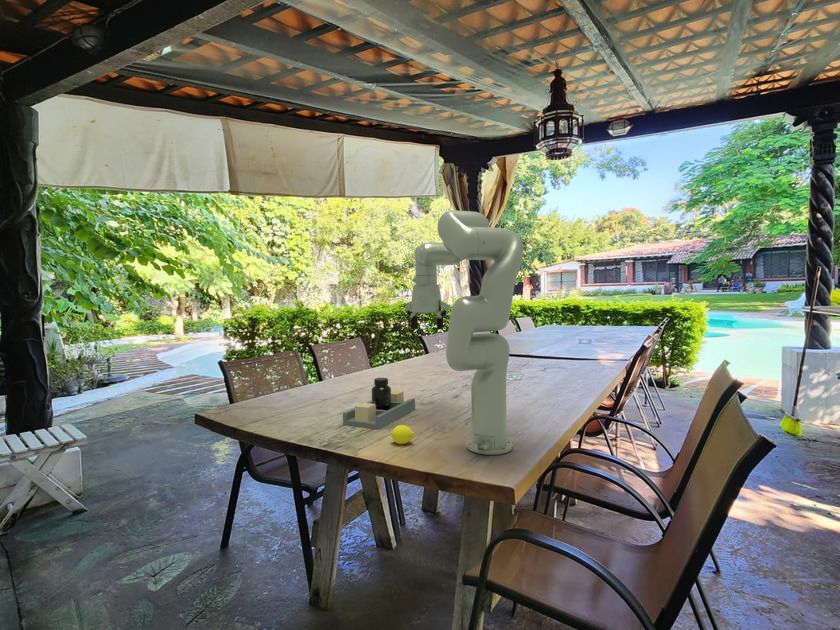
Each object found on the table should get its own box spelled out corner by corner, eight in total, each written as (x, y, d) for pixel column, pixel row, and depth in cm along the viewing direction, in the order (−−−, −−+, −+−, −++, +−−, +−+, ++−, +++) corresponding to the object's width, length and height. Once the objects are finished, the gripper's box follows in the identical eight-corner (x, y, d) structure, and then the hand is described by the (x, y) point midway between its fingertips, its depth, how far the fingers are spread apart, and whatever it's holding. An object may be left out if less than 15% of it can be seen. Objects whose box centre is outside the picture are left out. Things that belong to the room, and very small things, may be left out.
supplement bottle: (368, 414, 154) (367, 380, 154) (377, 409, 161) (376, 376, 160) (386, 415, 152) (385, 381, 151) (394, 410, 158) (393, 377, 158)
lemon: (389, 447, 127) (386, 428, 127) (395, 441, 132) (392, 423, 132) (412, 446, 125) (409, 427, 125) (418, 440, 130) (415, 421, 130)
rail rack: (379, 429, 142) (378, 409, 142) (343, 424, 148) (342, 405, 148) (415, 409, 165) (414, 392, 165) (382, 406, 171) (382, 389, 171)
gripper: (399, 281, 158) (400, 329, 159) (444, 279, 150) (445, 330, 151) (409, 281, 164) (410, 328, 165) (453, 280, 157) (453, 328, 158)
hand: (427, 329), depth 158 cm, fingers open, 9 cm apart
